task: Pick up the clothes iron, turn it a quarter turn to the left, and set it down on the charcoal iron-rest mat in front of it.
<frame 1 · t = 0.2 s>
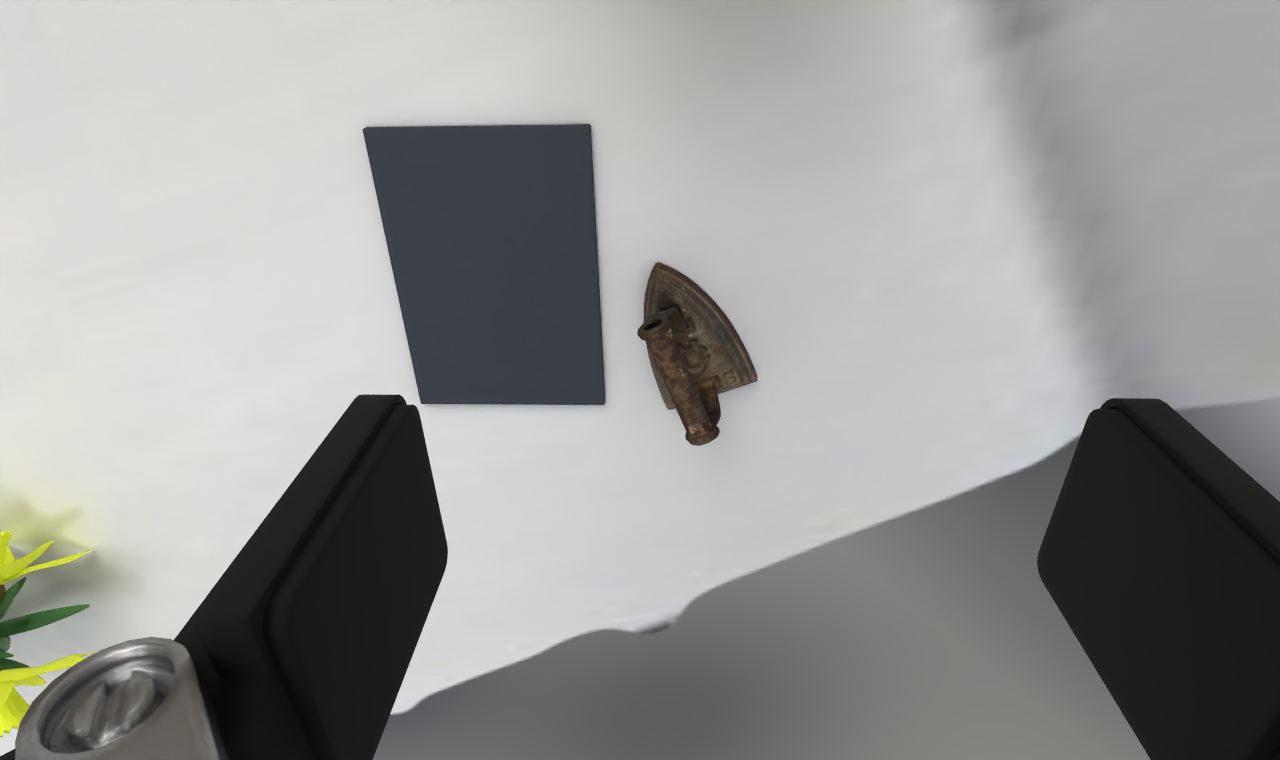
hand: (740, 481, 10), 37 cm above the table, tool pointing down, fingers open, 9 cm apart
iron rest mat: (497, 277, 48), on the table
daffodil flowers: (21, 591, 67), on the table
clothes iron: (685, 328, 50), on the table
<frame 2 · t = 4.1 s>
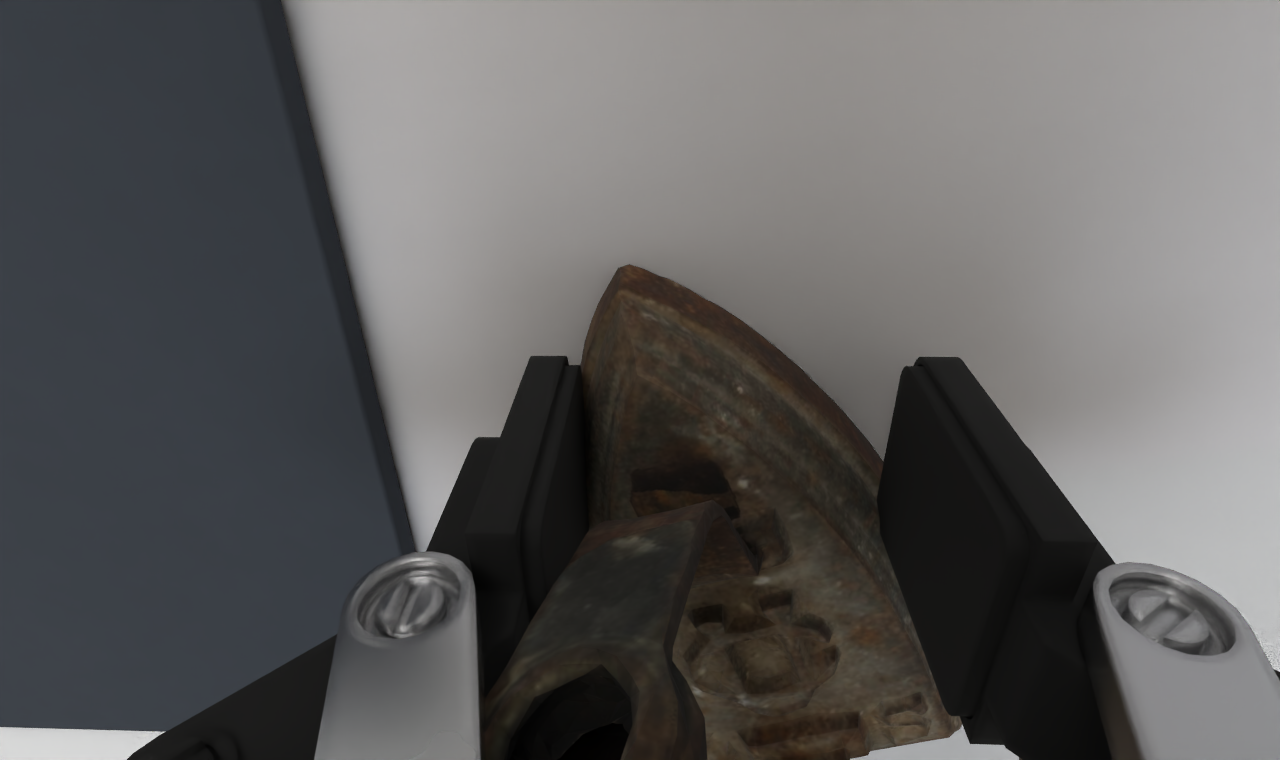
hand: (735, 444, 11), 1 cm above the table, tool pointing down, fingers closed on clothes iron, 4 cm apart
clothes iron: (732, 516, 13), on the table, touching gripper
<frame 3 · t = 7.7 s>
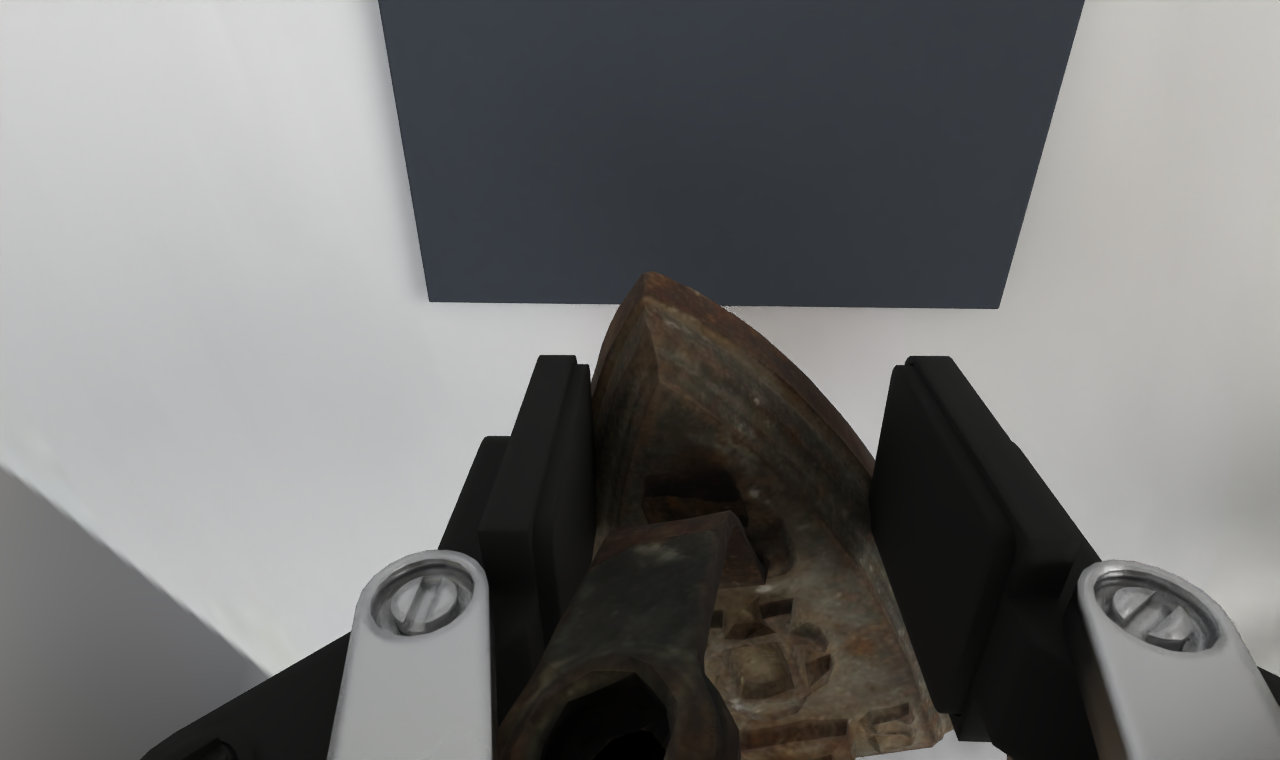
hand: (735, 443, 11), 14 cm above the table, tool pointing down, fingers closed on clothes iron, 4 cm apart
iron rest mat: (719, 90, 21), on the table
clothes iron: (732, 523, 13), point 13 cm above the table, touching gripper
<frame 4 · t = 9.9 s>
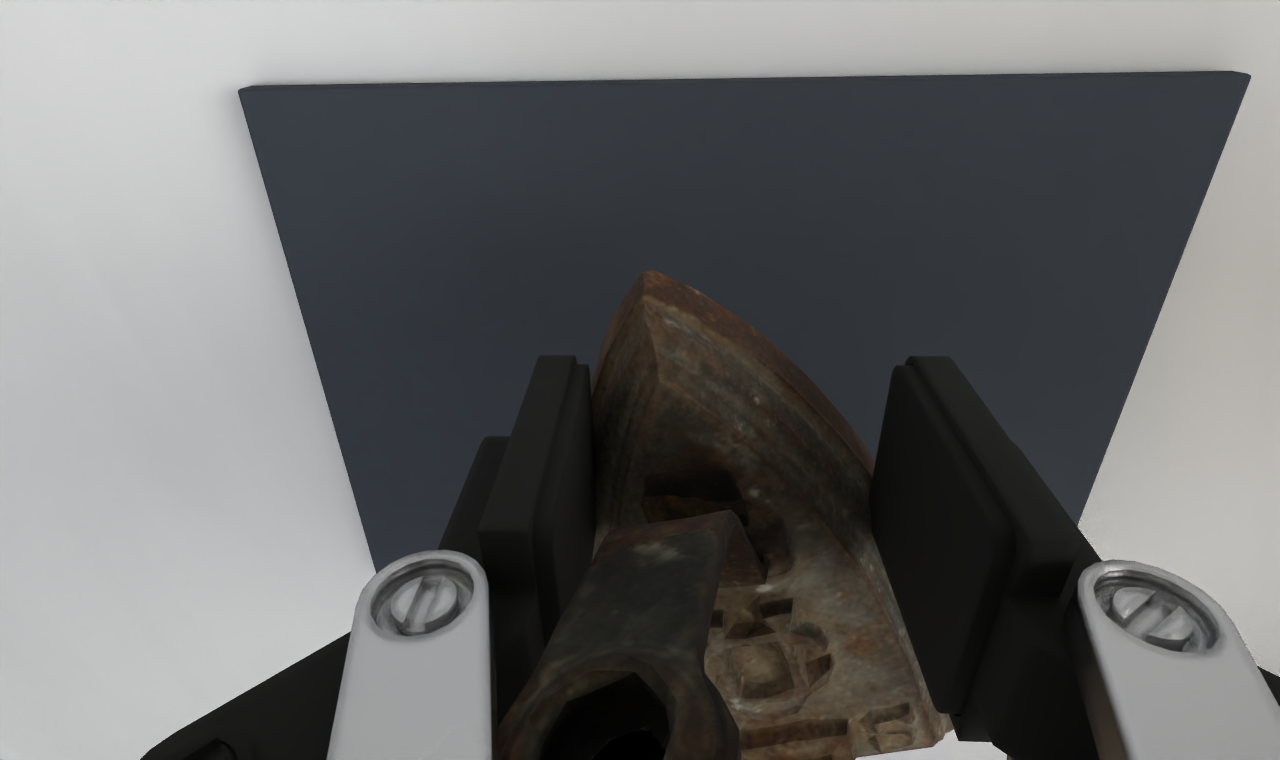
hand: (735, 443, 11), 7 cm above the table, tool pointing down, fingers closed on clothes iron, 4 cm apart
iron rest mat: (713, 374, 18), on the table
clothes iron: (732, 522, 13), point 5 cm above the table, touching gripper
when the fingers open (2 cm above the table, at t = 11.4 s): clothes iron stays where it is, resting on iron rest mat.
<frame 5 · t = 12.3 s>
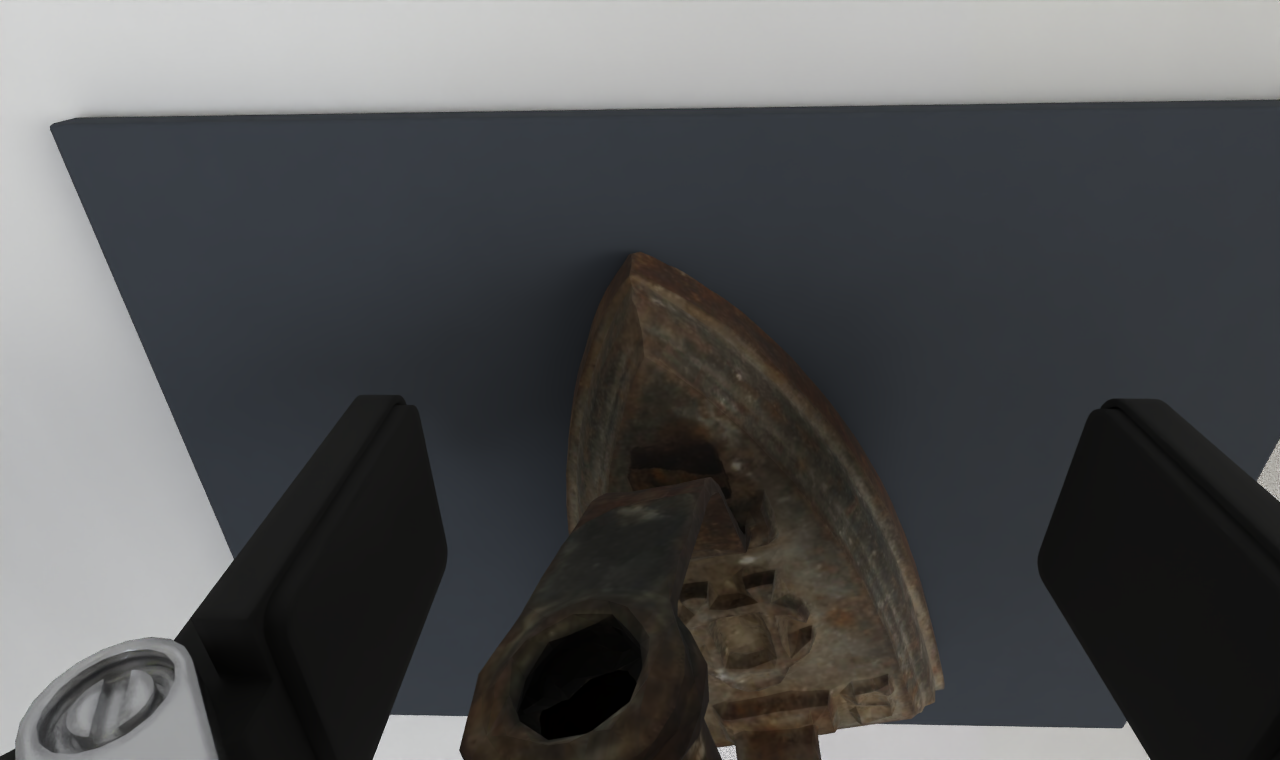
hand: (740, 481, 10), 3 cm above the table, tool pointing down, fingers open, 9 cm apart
iron rest mat: (709, 478, 14), on the table
clothes iron: (719, 500, 14), resting on iron rest mat
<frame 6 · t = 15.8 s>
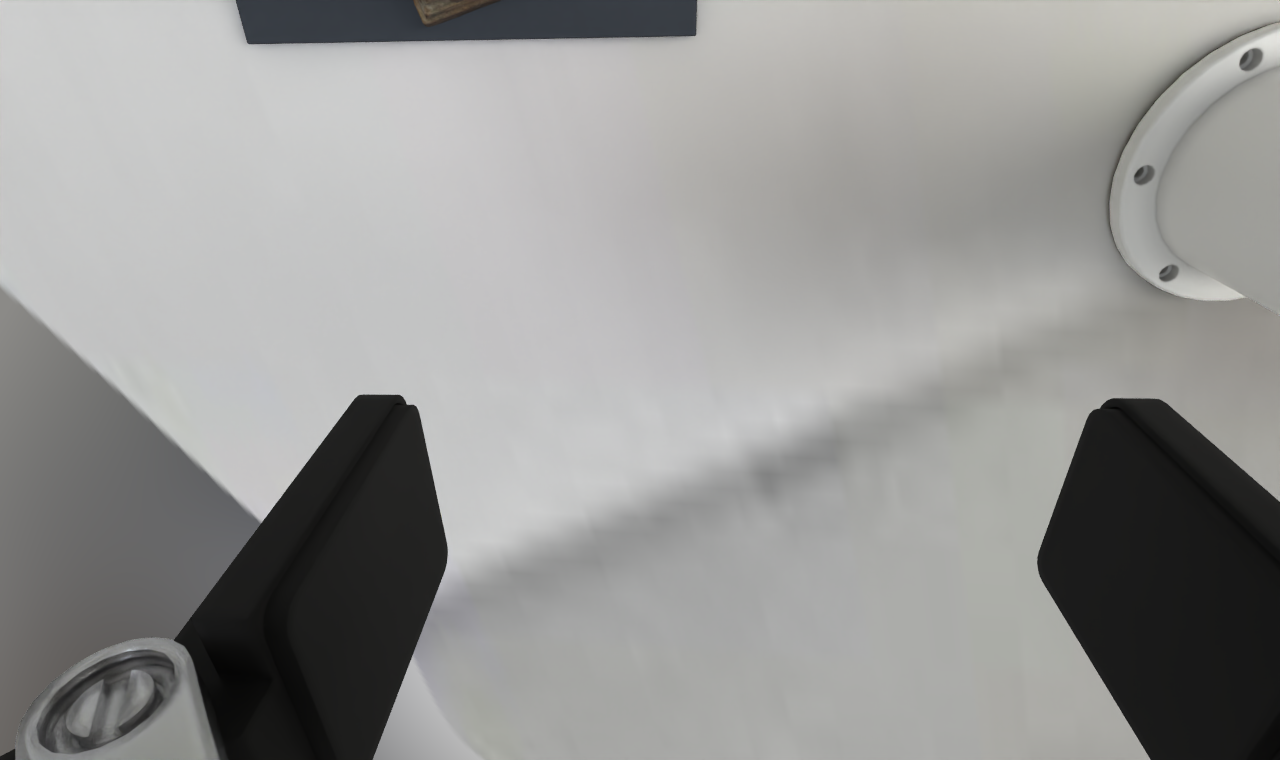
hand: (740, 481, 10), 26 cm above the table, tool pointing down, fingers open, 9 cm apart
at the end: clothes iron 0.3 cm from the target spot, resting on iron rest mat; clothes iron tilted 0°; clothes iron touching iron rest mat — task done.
